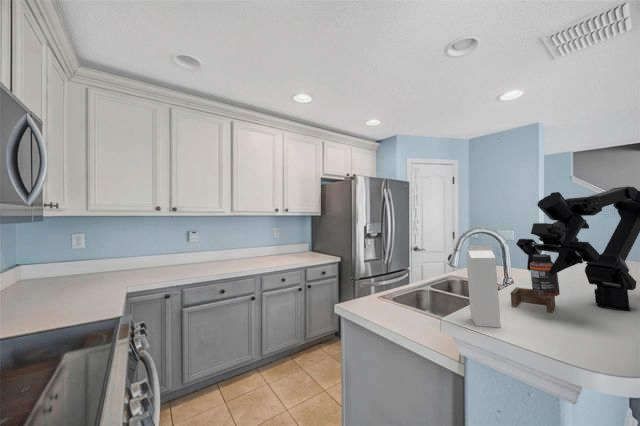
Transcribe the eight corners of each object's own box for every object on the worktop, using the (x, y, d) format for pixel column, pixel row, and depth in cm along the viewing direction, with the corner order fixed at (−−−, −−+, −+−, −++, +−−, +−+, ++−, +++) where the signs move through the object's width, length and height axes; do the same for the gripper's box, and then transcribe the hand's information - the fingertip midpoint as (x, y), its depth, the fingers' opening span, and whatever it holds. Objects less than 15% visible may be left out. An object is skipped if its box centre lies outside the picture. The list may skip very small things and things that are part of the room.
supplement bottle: (552, 291, 76) (548, 253, 77) (565, 297, 70) (560, 256, 71) (528, 291, 78) (524, 253, 78) (539, 297, 72) (535, 256, 72)
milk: (470, 318, 76) (464, 244, 77) (494, 319, 74) (487, 243, 75) (476, 326, 70) (469, 246, 72) (501, 328, 69) (494, 245, 70)
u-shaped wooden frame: (555, 305, 82) (554, 291, 82) (552, 313, 76) (550, 298, 77) (517, 300, 90) (516, 287, 90) (511, 306, 84) (510, 292, 84)
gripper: (517, 214, 85) (493, 250, 82) (586, 211, 67) (558, 257, 64) (539, 236, 86) (515, 272, 84) (612, 238, 68) (585, 285, 65)
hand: (539, 271), depth 74 cm, fingers closed on supplement bottle, 6 cm apart
